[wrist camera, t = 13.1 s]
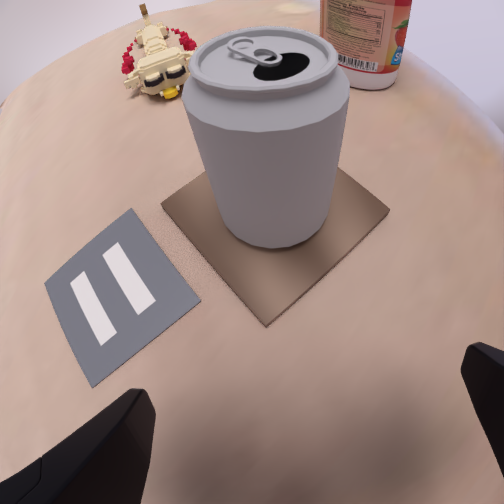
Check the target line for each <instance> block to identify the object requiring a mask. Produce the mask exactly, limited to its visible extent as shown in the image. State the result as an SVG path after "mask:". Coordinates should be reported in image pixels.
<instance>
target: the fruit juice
mask: <svg viewBox="0 0 504 504" xmlns="http://www.w3.org/2000/svg"><path fill="white" fill-rule="evenodd" d="M411 4H412V0H320V37H322V38H323V39H325V40H326V41H327V42H329V43H330V44H332V45H333V47H334V48H335V50H336V51H337V53H338V65H339V66H340V67H341V69H342V70H343V71H344V73H345V75H346V76H347V78H348V80H349V82H350V86H351V87H355V88H361V89H369V90H377V89H384V88H387V87H389V86H391V85H392V84H393V83H394V81H395V79H396V77H397V74H398V70H399V66H400V61H401V57H402V52H403V47H404V42H405V38H406V32H407V27H408V21H409V16H410V10H411Z"/></svg>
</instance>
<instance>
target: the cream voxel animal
mask: <svg viewBox="0 0 504 504" xmlns="http://www.w3.org/2000/svg"><path fill="white" fill-rule="evenodd" d="M140 9H141V13H142V15H143V19H144V22H145V25H146V27H144V29H143V31H142V29H140V30H137V31H136V32H137V37H136V38H135V40H134V41H135V42H136V43H138V44H140V45H142V44H143V45H144V49H145V54H146V57H144V58H141V60H139V63H137V69H135V71H133V69H134V65H133V62H134V59H133V56H130V55H129V52H130V51H131V50H132V47H131V46H133V43H131V44H130V45H131V46H129V47H127V52H125V53H124V55H123V56H122V57H123V60H124V63H122V73H123V74H124V73H125V74H128V79H129V80H126V81H124V84H125V86H126V89H129V88H131V87H132V89H134V88H136V87H137V85H138V84H140V83H141V81H142V84H143V86H144V87H141V92H142V93H147V94H150V95H152V94H153V95H155V94H157V93H160V95H161V96H164V97H165V99H166V98H168V99H169V98H172V97H175V96H176V95H177V94H178V90H180V88H179V85H182V84H184V83H185V82H186V80H187V79H188V77H189V76H190V75H191V73H190V71H188V69H187V66H186V63H187V65H189V60H190V57H191V56H192V55H193V54H194V51H192V50H195V47H197V46H196V43H195V41H194V40H193V41H192V39H189V37H188V34H187V32H186V33H185V32H184V31H183V32H180V31H179V29H176V30H174V29H171V31H174V32H175V34H180V36H181V38H179V41H180V45H182V44H183V47H184V50H187V52H182V51H181V50H180V48H177V47H171V48H168V47H167V44H166V42H165V40H164V36H167V34H168V30H169V28H167V26H165V27H164V26H163V24H162V22H159V23H157V26H156V25H153V24H152V25H151V22H150V19H149V16H148V13H147V9H146V6H145V4H142V5H140ZM185 60H186V62H185ZM139 77H140V78H139ZM140 79H141V80H140Z"/></svg>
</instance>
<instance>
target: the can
mask: <svg viewBox="0 0 504 504" xmlns="http://www.w3.org/2000/svg"><path fill="white" fill-rule="evenodd" d="M188 69H189V71H190V73H191V75H190V76H189V77H188V79H187V80H186V82H185V83H184V87H183V92H182V97H181V98H182V101H183V104H184V107H185V110H186V113H187V116H188V119H189V122H190V125H191V128H192V131H193V134H194V137H195V140H196V143H197V146H198V149H199V152H200V155H201V158H202V161H203V164H204V167H205V170H206V173H207V176H208V179H209V182H210V185H211V188H212V191H213V194H214V197H215V200H216V203H217V206H218V209H219V211H220V214H221V216H222V219H223V221H224V224H225V225H226V227H227V228H228V229H229V230H230V231H231V232H232V233H233V234H234V235H235V236H236V237H237V238H239V239H241V240H243V241H245V242H247V243H249V244H251V245H254V246H259V247H265V248H270V249H271V248H281V247H290V246H292V245H295V244H297V243H300V242H302V241H305V240H307V239H308V238H309V237H311V236H312V235H313V234H314V233H315V232H316V231H318V230H319V229H320V227H321V226H322V224H323V222H324V221H325V219H326V217H327V215H328V211H329V206H330V202H331V197H332V192H333V187H334V182H335V177H336V172H337V167H338V161H339V156H340V150H341V145H342V139H343V133H344V127H345V121H346V115H347V109H348V102H349V93H350V82H349V80H348V78H347V76H346V75H345V73H344V71H343V70H342V69H341V67H340V66H339V65H338V53H337V51H336V50H335V48H334V47H333V45H332V44H330V43H329V42H327V41H326V40H325V39H323V38H322V37H320V36H318V35H316V34H313V33H310V32H307V31H305V30H300V29H295V28H290V27H280V26H260V27H249V28H244V29H239V30H235V31H230V32H227V33H225V34H222V35H220V36H217V37H214V38H212V39H211V40H209V41H207V42H206V43H204V44H203V45H201V46H200V47H199V48H198V49H197V50H196V51H195V52H194V54H193V55H192V56H191V57H190V60H189V65H188Z"/></svg>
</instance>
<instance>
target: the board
mask: <svg viewBox="0 0 504 504" xmlns="http://www.w3.org/2000/svg"><path fill="white" fill-rule="evenodd" d="M160 204H161V205H162V207H163V209H164V210H165V211H166V212H167V213H168V215H169V216H170V217H171V218H172V219H173V221H174V222H175V223H176V224H177V225H178V227H179V228H180V229H181V230H182V231H183V233H184V234H185V235H186V236H187V237H188V239H189V240H190V241H191V242H192V243H193V245H194V246H195V247H196V248H197V249H198V250H199V252H200V253H201V254H202V255H203V256H204V257H205V259H206V260H207V261H208V262H209V263H210V264H211V266H212V267H213V268H214V269H215V270H216V271H217V273H218V274H219V275H220V276H221V277H222V278H223V280H224V281H225V282H226V283H227V284H228V285H229V286H230V288H231V289H232V290H233V291H234V292H235V293H236V294H237V295H238V297H239V298H240V299H241V300H242V301H243V302H244V303H245V305H246V306H247V307H248V308H249V309H250V310H251V311H252V312H253V313H254V315H255V316H256V317H257V318H258V319H259V320H260V321H261V322H262V323H263V325H264V326H265V327H267V326H269V325H270V324H271V323H272V322H273V321H274V320H276V319H277V318H278V317H279V316H280V315H281V314H282V313H284V312H285V311H286V310H287V309H288V308H289V307H290V306H292V305H293V304H294V303H295V302H296V301H297V300H298V299H299V298H301V297H302V296H303V295H304V294H305V293H306V292H307V291H308V290H309V289H311V288H312V287H313V286H314V285H315V284H316V283H317V282H318V281H319V280H320V279H321V278H323V277H324V276H325V275H326V274H327V273H328V272H329V271H330V270H331V269H332V268H333V267H334V266H335V265H337V264H338V263H339V262H340V261H341V260H342V259H343V258H344V257H345V256H346V255H347V254H348V253H349V252H350V251H351V250H352V249H353V248H354V247H355V246H356V245H357V244H358V243H359V242H360V241H362V240H363V239H364V238H365V237H366V236H367V235H368V234H369V233H370V232H371V231H372V230H373V229H374V228H375V227H376V226H377V225H378V224H379V223H380V222H381V221H382V220H383V219H384V218H385V217H386V216H387V215H388V213H389V211H390V209H389V208H388V207H387V206H386V205H385V204H383V203H382V202H381V201H380V200H379V199H377V198H376V197H375V196H374V195H373V194H371V193H370V192H369V191H368V190H366V189H365V188H364V187H363V186H362V185H360V184H359V183H358V182H356V181H355V180H354V179H353V178H351V177H350V176H349V175H348V174H346V173H345V172H344V171H342V170H341V169H340V168H338V167H337V172H336V177H335V182H334V187H333V192H332V197H331V202H330V206H329V211H328V215H327V217H326V219H325V221H324V222H323V224H322V226H321V227H320V229H319V230H318V231H316V232H315V233H314V234H313V235H312V236H311V237H309V238H308V239H307V240H305V241H302V242H300V243H297V244H295V245H292V246H290V247H281V248H271V249H270V248H265V247H259V246H254V245H251V244H249V243H247V242H245V241H243V240H241V239H239V238H237V237H236V236H235V235H234V234H233V233H232V232H231V231H230V230H229V229H228V228H227V227H226V225H225V224H224V221H223V219H222V216H221V214H220V211H219V209H218V206H217V203H216V200H215V197H214V194H213V191H212V188H211V185H210V182H209V179H208V176H207V173H206V171H205V172H203V173H202V174H201V175H199V176H198V177H196V178H195V179H193V180H192V181H191V182H189V183H188V184H186V185H185V186H184V187H182V188H181V189H179V190H178V191H177V192H175V193H174V194H173V195H171V196H170V197H168V198H167V199H166V200H164V201H163V202H162V203H160Z"/></svg>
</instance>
